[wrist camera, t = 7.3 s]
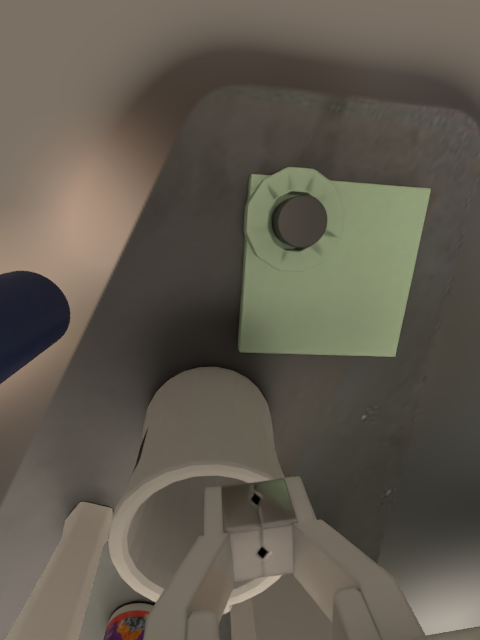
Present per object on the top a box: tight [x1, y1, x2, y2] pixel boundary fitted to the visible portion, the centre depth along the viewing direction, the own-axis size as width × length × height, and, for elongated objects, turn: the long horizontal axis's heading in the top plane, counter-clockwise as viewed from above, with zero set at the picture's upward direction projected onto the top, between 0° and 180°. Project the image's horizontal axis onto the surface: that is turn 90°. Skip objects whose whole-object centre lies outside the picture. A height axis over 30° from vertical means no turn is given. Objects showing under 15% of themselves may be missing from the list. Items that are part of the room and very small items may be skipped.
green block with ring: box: [238, 167, 431, 357], centre depth 20 cm, size 11×11×3 cm
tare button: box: [272, 195, 327, 248], centre depth 17 cm, size 3×3×2 cm
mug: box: [108, 367, 285, 614], centre depth 20 cm, size 12×9×10 cm
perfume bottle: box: [5, 502, 113, 640], centre depth 19 cm, size 5×4×15 cm
